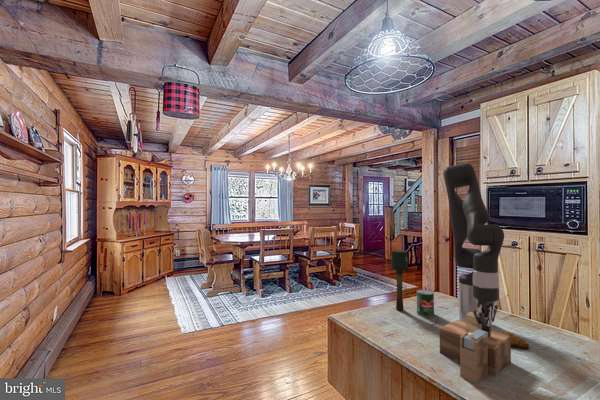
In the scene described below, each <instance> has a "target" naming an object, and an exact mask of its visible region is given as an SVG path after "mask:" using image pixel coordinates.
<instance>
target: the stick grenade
mask: <svg viewBox="0 0 600 400" xmlns="http://www.w3.org/2000/svg"><path fill="white" fill-rule="evenodd" d="M390 257H391V260H390V262H391V263H390V264H391V265H390V269H391V270H394V271H395V275H396V276H395V279H396V301H395V310H396V311H399V312H402V311H403V310H405V309H404V300H403V282H404V271H408V270H409V266H408V251H407V250H405V249H393V250H391V251H390Z"/></svg>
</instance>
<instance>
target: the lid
mask: <svg viewBox="0 0 600 400" xmlns="http://www.w3.org/2000/svg"><path fill="white" fill-rule="evenodd" d="M465 318H466V322H463V321H461V320H460V319H455V320H453V321H452V322H450V323H448V324H445V325H443V326H441V327H440V328H439V332H440V331H442V332H445V333H448V334H450V335H453V336H456V337H459V338H460V336H462V335H464V334H466V333H468V332H469V331H471V330H472V331H476V330H478V329H480V330H482V325H481V324H478V322H477V320H476V318H475V316H474V313H472V312H469V313H467V314H465ZM509 339H510V336H509V335H506V334H502V333H499V332H498V331H495V330H492V329H491V336H490V337H488V348H490V349H493V350H495V349H497V348H498V347H499V346H501V345H502V344H504V343H505V342H506V341H508V340H509Z"/></svg>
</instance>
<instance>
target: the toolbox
mask: <svg viewBox="0 0 600 400" xmlns="http://www.w3.org/2000/svg"><path fill="white" fill-rule="evenodd" d="M472 332H474V331H472V330H471V331H469V332H468V333H472ZM468 333H466V334H464V335H462V336H460V338H459V337H456V336H453V335H450V334H448V333H445V332H442V331H440V330H439V354H442V355H444V356H446V357H449V358H452V359H454V360H456V361H458V362H459V374H460V375H459V377H461V378H463V379H464V380H465V379H466V380H468V381H470V382H472V383H474V384H478V383H479V382H480V381H482V380H483V379H484V378H486V377H487V376H488V375H489V374H490V375H492V376H496V375H498V374H499V373H500V372H501V371H503V369H505V368H506V367H507V366H509V365H510V364H511V363H512V346H511V339H509V340H508V341H506V342H505V343H504V344H502V345H501V346H499V347H498V348H497V349H495V350H493V349H490V348H488V335H484V336H483V337H481V338H479V339H478V340H476V341H474V350H471V349H468V348H466V347H464V337H465V336H467V335H468Z"/></svg>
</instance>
